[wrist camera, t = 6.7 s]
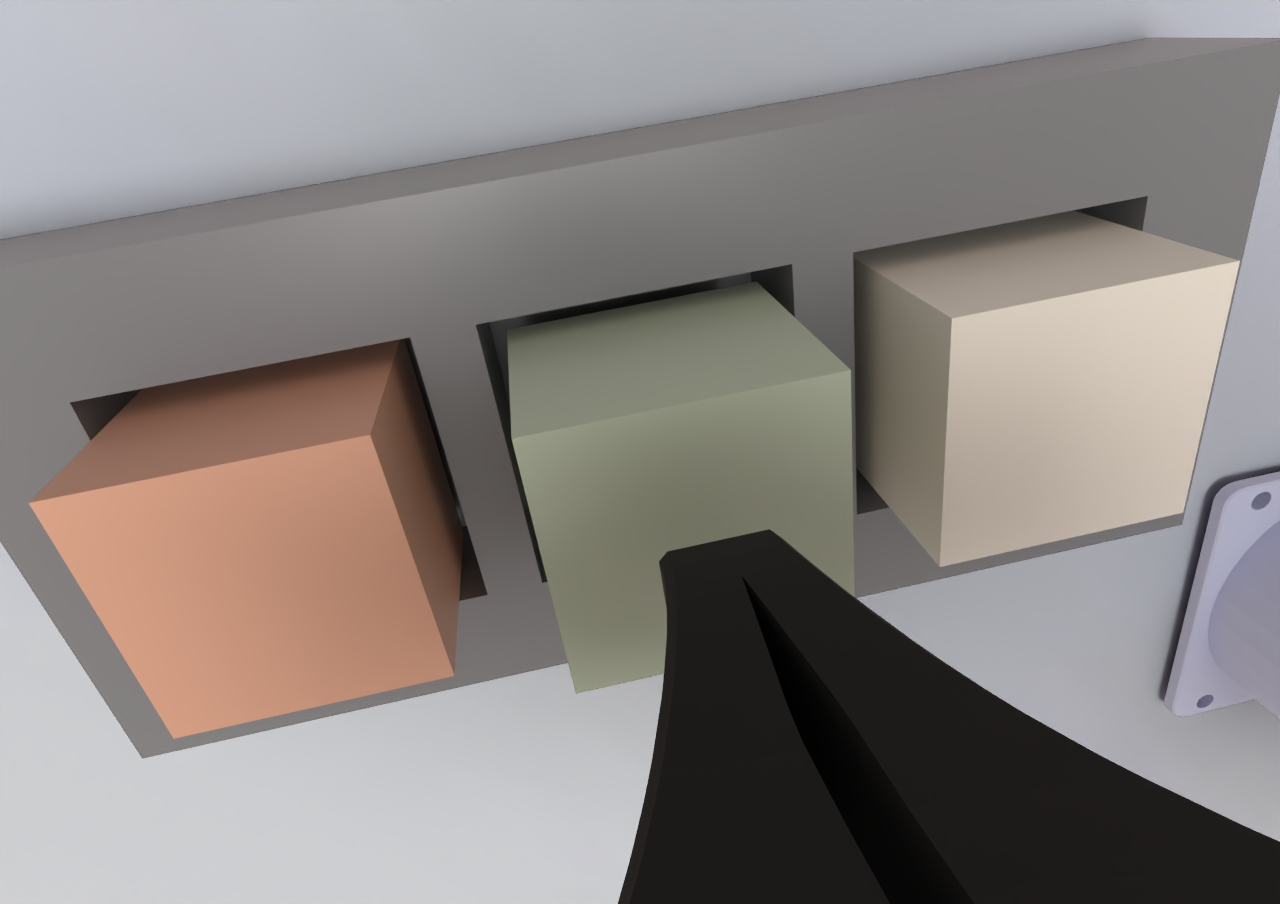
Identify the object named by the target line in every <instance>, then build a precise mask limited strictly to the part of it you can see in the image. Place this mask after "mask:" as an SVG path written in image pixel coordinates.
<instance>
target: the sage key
mask: <svg viewBox="0 0 1280 904" xmlns="http://www.w3.org/2000/svg"><path fill="white" fill-rule="evenodd" d="M507 343H508V366H509V390H510V414H511V438H512V443H513V447H514V451H515V455H516V459H517V462H518V466H519V470H520V474H521V478H522V482H523V486H524V490H525V494H526V498H527V502H528V506H529V510H530V514H531V518H532V522H533V526H534V530H535V534H536V538H537V542H538V546H539V550H540V554H541V557H542V561H543V565H544V569H545V573H546V577H547V581H548V585H549V589H550V593H551V597H552V601H553V605H554V609H555V613H556V617H557V621H558V625H559V629H560V633H561V637H562V641H563V645H564V648H565V652H566V656H567V660H568V664H569V668H570V672H571V676H572V680H573V684H574V688H575V692H576V693H581V692H585V691H590V690H594V689H598V688H603V687H607V686H612V685H616V684H620V683H625V682H629V681H633V680H638V679H642V678H647V677H651V676H655V675H660V674H664V668H665V654H666V640H667V608H666V602H665V596H664V590H663V584H662V578H661V572H660V566H659V561H660V560H661V558H662V557H663V556H664V555H665V554H666V552H667V551H672V550H676V549H681V548H685V547H690V546H695V545H699V544H704V543H708V542H713V541H718V540H722V539H727V538H731V537H736V536H740V535H745V534H750V533H754V532H759V531H763V530H768V529H770V530H772V531H773V532H774V533H776V534H777V535H779V536H780V537H781V538H783V539H784V540H785V541H786V542H787V543H788V544H790V545H791V546H792V547H793V548H794V549H796V550H797V551H798V552H799V553H800V554H802V555H803V556H804V557H805V558H806V559H808V560H809V561H810V562H811V563H812V564H814V565H815V566H816V567H817V568H818V569H820V570H821V571H822V572H823V573H825V574H826V575H827V576H828V577H830V578H831V579H832V580H833V581H835V582H836V583H837V584H838V585H840V586H841V587H842V588H843V589H845V590H846V591H847V592H848V593H850V594H851V595H852V596H854V597H855V595H854V533H853V471H852V409H851V370H850V369H849V368H848V367H847V366H846V365H845V364H844V363H843V362H842V361H841V360H840V359H839V358H838V357H836V356H835V355H834V354H833V353H832V352H831V351H830V350H829V349H828V348H827V347H826V346H825V345H824V344H823V343H822V342H820V341H819V340H818V339H817V338H816V337H815V336H814V335H813V334H812V333H811V332H810V331H809V330H808V329H807V328H806V327H804V326H803V325H802V324H801V323H800V322H799V321H798V320H797V319H796V318H795V317H794V316H793V315H792V314H791V313H790V312H788V311H787V310H786V309H785V308H784V307H783V306H782V305H781V304H780V303H779V302H778V301H777V300H776V299H775V298H774V297H772V296H771V295H770V294H769V293H768V292H767V291H766V290H765V289H764V288H763V287H762V286H761V285H760V284H759V283H758V282H751V283H746V284H741V285H736V286H730V287H725V288H720V289H715V290H710V291H704V292H699V293H694V294H689V295H684V296H679V297H673V298H668V299H663V300H658V301H653V302H647V303H642V304H637V305H632V306H627V307H621V308H616V309H611V310H606V311H601V312H595V313H590V314H585V315H580V316H575V317H569V318H564V319H559V320H554V321H549V322H543V323H538V324H533V325H528V326H523V327H518V328H512V329H507Z"/></svg>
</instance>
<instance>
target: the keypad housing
mask: <svg viewBox="0 0 1280 904" xmlns="http://www.w3.org/2000/svg"><path fill="white" fill-rule="evenodd" d="M1279 94H1280V38H1146V39H1140V40H1134V41H1129V42H1123V43H1117V44H1112V45H1106V46H1100V47H1095V48H1089V49H1083V50H1077V51H1072V52H1066V53H1060V54H1055V55H1049V56H1043V57H1038V58H1032V59H1026V60H1021V61H1015V62H1009V63H1004V64H998V65H992V66H986V67H981V68H975V69H969V70H964V71H958V72H952V73H947V74H941V75H935V76H930V77H924V78H918V79H913V80H907V81H901V82H895V83H890V84H884V85H878V86H873V87H867V88H861V89H856V90H850V91H844V92H839V93H833V94H827V95H822V96H816V97H810V98H804V99H799V100H793V101H787V102H782V103H776V104H770V105H765V106H759V107H753V108H748V109H742V110H736V111H731V112H725V113H719V114H713V115H708V116H702V117H696V118H691V119H685V120H679V121H674V122H668V123H662V124H657V125H651V126H645V127H640V128H634V129H628V130H622V131H617V132H611V133H605V134H600V135H594V136H588V137H583V138H577V139H571V140H566V141H560V142H554V143H549V144H543V145H537V146H531V147H526V148H520V149H514V150H509V151H503V152H497V153H492V154H486V155H480V156H475V157H469V158H463V159H458V160H452V161H446V162H441V163H435V164H429V165H423V166H418V167H412V168H406V169H401V170H395V171H389V172H384V173H378V174H372V175H367V176H361V177H355V178H350V179H344V180H338V181H332V182H327V183H321V184H315V185H310V186H304V187H298V188H293V189H287V190H281V191H276V192H270V193H264V194H259V195H253V196H247V197H241V198H236V199H230V200H224V201H219V202H213V203H207V204H202V205H196V206H190V207H185V208H179V209H173V210H168V211H162V212H156V213H150V214H145V215H139V216H133V217H128V218H122V219H116V220H111V221H105V222H99V223H94V224H88V225H82V226H77V227H71V228H65V229H59V230H54V231H48V232H42V233H37V234H31V235H25V236H20V237H14V238H8V239H3V240H0V542H1V543H2V545H3V546H4V548H5V549H6V551H7V552H8V554H9V555H10V557H11V559H12V560H13V562H14V563H15V565H16V566H17V568H18V569H19V571H20V572H21V574H22V575H23V577H24V578H25V580H26V581H27V583H28V584H29V586H30V588H31V589H32V591H33V592H34V594H35V595H36V597H37V598H38V600H39V601H40V603H41V604H42V606H43V607H44V609H45V610H46V612H47V614H48V615H49V617H50V618H51V620H52V621H53V623H54V624H55V626H56V627H57V629H58V630H59V632H60V633H61V635H62V636H63V638H64V639H65V641H66V643H67V644H68V646H69V647H70V649H71V650H72V652H73V653H74V655H75V656H76V658H77V659H78V661H79V662H80V664H81V665H82V667H83V669H84V670H85V672H86V673H87V675H88V676H89V678H90V679H91V681H92V682H93V684H94V685H95V687H96V688H97V690H98V691H99V693H100V694H101V696H102V698H103V699H104V701H105V702H106V704H107V705H108V707H109V708H110V710H111V711H112V713H113V714H114V716H115V717H116V719H117V720H118V722H119V724H120V725H121V727H122V728H123V730H124V731H125V733H126V734H127V736H128V737H129V739H130V740H131V742H132V743H133V745H134V746H135V748H136V749H137V751H138V753H139V754H140V756H141V757H142V758H147V757H151V756H156V755H160V754H164V753H169V752H173V751H178V750H182V749H187V748H191V747H196V746H200V745H204V744H209V743H213V742H218V741H222V740H227V739H231V738H236V737H240V736H244V735H249V734H253V733H258V732H262V731H267V730H271V729H276V728H280V727H284V726H289V725H293V724H298V723H302V722H307V721H311V720H316V719H320V718H324V717H329V716H333V715H338V714H342V713H347V712H351V711H356V710H360V709H364V708H369V707H373V706H378V705H382V704H387V703H391V702H396V701H400V700H404V699H409V698H413V697H418V696H422V695H427V694H431V693H436V692H440V691H444V690H449V689H453V688H458V687H462V686H467V685H471V684H476V683H480V682H484V681H489V680H493V679H498V678H502V677H507V676H511V675H516V674H520V673H524V672H529V671H533V670H538V669H542V668H547V667H551V666H556V665H560V664H564V663H568V660H567V656H566V652H565V648H564V645H563V641H562V637H561V633H560V629H559V625H558V621H557V617H556V613H555V609H554V605H553V601H552V597H551V593H550V589H549V585H548V581H547V577H546V573H545V569H544V565H543V561H542V557H541V554H540V550H539V546H538V542H537V538H536V534H535V530H534V526H533V522H532V518H531V514H530V510H529V506H528V502H527V498H526V494H525V490H524V486H523V482H522V478H521V474H520V470H519V466H518V462H517V459H516V455H515V451H514V447H513V443H512V438H511V414H510V390H509V366H508V343H507V329H512V328H518V327H523V326H528V325H533V324H538V323H543V322H549V321H554V320H559V319H564V318H569V317H575V316H580V315H585V314H590V313H595V312H601V311H606V310H611V309H616V308H621V307H627V306H632V305H637V304H642V303H647V302H653V301H658V300H663V299H668V298H673V297H679V296H684V295H689V294H694V293H699V292H704V291H710V290H715V289H720V288H725V287H730V286H736V285H741V284H746V283H751V282H758V283H759V284H760V285H761V286H762V287H763V288H764V289H765V290H766V291H767V292H768V293H769V294H770V295H771V296H772V297H774V298H775V299H776V300H777V301H778V302H779V303H780V304H781V305H782V306H783V307H784V308H785V309H786V310H787V311H788V312H790V313H791V314H792V315H793V316H794V317H795V318H796V319H797V320H798V321H799V322H800V323H801V324H802V325H803V326H804V327H806V328H807V329H808V330H809V331H810V332H811V333H812V334H813V335H814V336H815V337H816V338H817V339H818V340H819V341H820V342H822V343H823V344H824V345H825V346H826V347H827V348H828V349H829V350H830V351H831V352H832V353H833V354H834V355H835V356H836V357H838V358H839V359H840V360H841V361H842V362H843V363H844V364H845V365H846V366H847V367H848V368H849V369H850V370H851V409H852V471H853V533H854V595H855V598H858V597H862V596H867V595H871V594H876V593H880V592H884V591H889V590H893V589H898V588H902V587H907V586H911V585H916V584H920V583H924V582H929V581H933V580H938V579H942V578H947V577H951V576H956V575H960V574H964V573H969V572H973V571H978V570H982V569H987V568H991V567H996V566H1000V565H1004V564H1009V563H1013V562H1018V561H1022V560H1027V559H1031V558H1036V557H1040V556H1044V555H1049V554H1053V553H1058V552H1062V551H1067V550H1071V549H1076V548H1080V547H1084V546H1089V545H1093V544H1098V543H1102V542H1107V541H1111V540H1116V539H1120V538H1124V537H1129V536H1133V535H1138V534H1142V533H1147V532H1151V531H1156V530H1160V529H1164V528H1169V527H1173V526H1178V525H1182V522H1183V518H1184V514H1185V509H1186V505H1187V500H1188V496H1189V492H1190V487H1191V483H1192V478H1193V474H1194V469H1195V465H1196V461H1197V456H1198V452H1199V447H1200V443H1201V439H1202V434H1203V430H1204V425H1205V421H1206V417H1207V412H1208V408H1209V403H1210V399H1211V394H1212V390H1213V386H1214V381H1215V377H1216V372H1217V368H1218V364H1219V359H1220V355H1221V350H1222V346H1223V342H1224V337H1225V333H1226V328H1227V324H1228V319H1229V315H1230V311H1231V306H1232V302H1233V297H1234V293H1235V289H1236V284H1237V280H1238V275H1239V271H1240V267H1241V262H1242V258H1243V253H1244V249H1245V244H1246V240H1247V236H1248V231H1249V227H1250V222H1251V218H1252V214H1253V209H1254V205H1255V200H1256V196H1257V192H1258V187H1259V183H1260V178H1261V174H1262V169H1263V165H1264V161H1265V156H1266V152H1267V147H1268V143H1269V139H1270V134H1271V130H1272V125H1273V121H1274V117H1275V112H1276V108H1277V103H1278V99H1279ZM1072 210H1073V211H1076V212H1080V213H1083V214H1086V215H1090V216H1093V217H1096V218H1100V219H1103V220H1106V221H1109V222H1113V223H1116V224H1119V225H1123V226H1126V227H1129V228H1133V229H1136V230H1139V231H1143V232H1146V233H1149V234H1153V235H1156V236H1159V237H1163V238H1166V239H1169V240H1172V241H1176V242H1179V243H1182V244H1186V245H1189V246H1192V247H1196V248H1199V249H1202V250H1206V251H1209V252H1212V253H1216V254H1219V255H1222V256H1226V257H1229V258H1232V259H1235V260H1239V261H1240V263H1239V268H1238V272H1237V276H1236V281H1235V285H1234V290H1233V294H1232V299H1231V303H1230V307H1229V312H1228V316H1227V321H1226V325H1225V330H1224V334H1223V339H1222V343H1221V347H1220V352H1219V356H1218V361H1217V365H1216V370H1215V374H1214V378H1213V383H1212V387H1211V392H1210V396H1209V401H1208V405H1207V409H1206V414H1205V418H1204V423H1203V427H1202V432H1201V436H1200V440H1199V445H1198V449H1197V454H1196V458H1195V463H1194V467H1193V472H1192V476H1191V480H1190V485H1189V489H1188V494H1187V498H1186V503H1185V507H1184V511H1183V513H1180V514H1175V515H1171V516H1166V517H1162V518H1157V519H1153V520H1148V521H1144V522H1139V523H1135V524H1130V525H1126V526H1121V527H1117V528H1113V529H1108V530H1104V531H1099V532H1095V533H1090V534H1086V535H1081V536H1077V537H1072V538H1068V539H1063V540H1059V541H1054V542H1050V543H1046V544H1041V545H1037V546H1032V547H1028V548H1023V549H1019V550H1014V551H1010V552H1005V553H1001V554H996V555H992V556H987V557H983V558H979V559H974V560H970V561H965V562H961V563H956V564H952V565H947V566H943V567H939V566H938V565H937V563H936V562H935V561H934V560H933V559H932V557H931V556H930V555H929V554H928V553H927V551H926V550H925V549H924V548H923V547H922V545H921V544H920V543H919V542H918V541H917V540H916V538H915V537H914V536H913V535H912V534H911V532H910V531H909V530H908V529H907V528H906V526H905V525H904V524H903V523H902V522H901V520H900V519H899V518H898V517H897V516H896V514H895V513H894V512H893V511H892V510H891V508H890V507H889V506H888V505H887V504H886V503H885V501H884V500H883V499H882V498H881V497H880V495H879V494H878V493H877V492H876V491H875V489H874V488H873V487H872V486H871V485H870V483H869V482H868V481H867V480H866V479H865V477H864V476H863V475H862V474H861V473H860V472H859V470H858V469H857V468H856V420H855V346H854V272H853V252H858V251H863V250H868V249H874V248H879V247H884V246H889V245H895V244H900V243H905V242H910V241H915V240H921V239H926V238H931V237H936V236H942V235H947V234H952V233H957V232H962V231H968V230H973V229H978V228H983V227H989V226H994V225H999V224H1004V223H1009V222H1015V221H1020V220H1025V219H1030V218H1036V217H1041V216H1046V215H1051V214H1056V213H1062V212H1067V211H1072ZM399 339H405V343H406V346H407V349H408V353H409V356H410V359H411V362H412V366H413V369H414V372H415V375H416V379H417V382H418V385H419V388H420V392H421V395H422V398H423V402H424V405H425V408H426V411H427V415H428V418H429V421H430V424H431V428H432V431H433V434H434V438H435V441H436V444H437V447H438V451H439V454H440V457H441V460H442V464H443V467H444V470H445V473H446V477H447V480H448V483H449V487H450V490H451V493H452V496H453V500H454V503H455V506H456V509H457V513H458V516H459V519H460V523H461V526H462V529H463V532H464V533H463V548H462V564H461V580H460V596H459V612H458V628H457V644H456V660H455V676H452V677H448V678H443V679H439V680H434V681H430V682H425V683H421V684H416V685H412V686H407V687H403V688H398V689H394V690H389V691H385V692H381V693H376V694H372V695H367V696H363V697H358V698H354V699H349V700H345V701H340V702H336V703H331V704H327V705H322V706H318V707H314V708H309V709H305V710H300V711H296V712H291V713H287V714H282V715H278V716H273V717H269V718H264V719H260V720H255V721H251V722H247V723H242V724H238V725H233V726H229V727H224V728H220V729H215V730H211V731H206V732H202V733H197V734H193V735H188V736H184V737H180V738H175V739H173V737H172V735H171V734H170V732H169V730H168V729H167V727H166V726H165V724H164V722H163V721H162V719H161V717H160V716H159V714H158V713H157V711H156V709H155V708H154V706H153V704H152V703H151V701H150V700H149V698H148V696H147V695H146V693H145V691H144V690H143V688H142V687H141V685H140V683H139V682H138V680H137V678H136V677H135V675H134V674H133V672H132V670H131V669H130V667H129V665H128V664H127V662H126V661H125V659H124V657H123V656H122V654H121V652H120V651H119V649H118V648H117V646H116V644H115V643H114V641H113V639H112V638H111V636H110V635H109V633H108V631H107V630H106V628H105V626H104V625H103V623H102V622H101V620H100V618H99V617H98V615H97V613H96V612H95V610H94V609H93V607H92V605H91V604H90V602H89V600H88V599H87V597H86V596H85V594H84V592H83V591H82V589H81V587H80V586H79V584H78V583H77V581H76V579H75V578H74V576H73V574H72V573H71V571H70V570H69V568H68V566H67V565H66V563H65V562H64V560H63V558H62V557H61V555H60V553H59V552H58V550H57V549H56V547H55V545H54V544H53V542H52V540H51V539H50V537H49V536H48V534H47V532H46V531H45V529H44V527H43V526H42V524H41V523H40V521H39V519H38V518H37V516H36V514H35V513H34V511H33V510H32V508H31V506H30V505H29V502H30V501H31V500H32V499H33V498H34V497H35V496H36V495H37V494H38V493H39V492H40V491H41V490H42V489H43V488H44V487H45V486H46V485H47V484H48V483H49V482H50V481H51V480H52V479H53V478H54V477H55V476H56V475H57V474H58V473H59V472H60V471H61V470H62V469H63V468H64V467H65V466H66V465H67V464H68V463H69V462H70V461H71V460H72V459H73V458H74V457H75V456H76V455H77V454H78V453H79V452H80V451H81V450H82V449H83V448H84V447H85V446H86V445H87V444H88V443H89V442H90V441H91V440H92V439H93V438H94V437H95V436H96V435H97V434H98V433H99V432H100V431H101V430H102V429H103V428H104V427H105V426H106V425H107V424H108V423H109V422H110V421H111V420H112V419H113V418H114V417H115V416H116V415H117V414H118V413H119V412H120V411H121V410H122V409H123V408H124V407H125V406H126V405H127V404H128V403H129V402H130V401H131V400H132V399H133V398H134V397H135V396H136V395H137V394H138V393H139V392H140V391H141V390H142V389H143V388H148V387H153V386H158V385H164V384H169V383H174V382H179V381H185V380H190V379H195V378H200V377H205V376H211V375H216V374H221V373H226V372H232V371H237V370H242V369H247V368H252V367H258V366H263V365H268V364H273V363H279V362H284V361H289V360H294V359H299V358H305V357H310V356H315V355H320V354H325V353H331V352H336V351H341V350H346V349H352V348H357V347H362V346H367V345H372V344H378V343H383V342H388V341H393V340H399Z"/></svg>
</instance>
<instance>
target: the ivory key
mask: <svg viewBox="0 0 1280 904" xmlns="http://www.w3.org/2000/svg"><path fill="white" fill-rule="evenodd" d="M1239 263H1240V261H1239V260H1235V259H1232V258H1229V257H1226V256H1222V255H1219V254H1216V253H1212V252H1209V251H1206V250H1202V249H1199V248H1196V247H1192V246H1189V245H1186V244H1182V243H1179V242H1176V241H1172V240H1169V239H1166V238H1163V237H1159V236H1156V235H1153V234H1149V233H1146V232H1143V231H1139V230H1136V229H1133V228H1129V227H1126V226H1123V225H1119V224H1116V223H1113V222H1109V221H1106V220H1103V219H1100V218H1096V217H1093V216H1090V215H1086V214H1083V213H1080V212H1076V211H1073V210H1072V211H1067V212H1062V213H1056V214H1051V215H1046V216H1041V217H1036V218H1030V219H1025V220H1020V221H1015V222H1009V223H1004V224H999V225H994V226H989V227H983V228H978V229H973V230H968V231H962V232H957V233H952V234H947V235H942V236H936V237H931V238H926V239H921V240H915V241H910V242H905V243H900V244H895V245H889V246H884V247H879V248H874V249H868V250H863V251H858V252H853V272H854V346H855V420H856V468H857V469H858V470H859V472H860V473H861V474H862V475H863V476H864V477H865V479H866V480H867V481H868V482H869V483H870V485H871V486H872V487H873V488H874V489H875V491H876V492H877V493H878V494H879V495H880V497H881V498H882V499H883V500H884V501H885V503H886V504H887V505H888V506H889V507H890V508H891V510H892V511H893V512H894V513H895V514H896V516H897V517H898V518H899V519H900V520H901V522H902V523H903V524H904V525H905V526H906V528H907V529H908V530H909V531H910V532H911V534H912V535H913V536H914V537H915V538H916V540H917V541H918V542H919V543H920V544H921V545H922V547H923V548H924V549H925V550H926V551H927V553H928V554H929V555H930V556H931V557H932V559H933V560H934V561H935V562H936V563H937V565H938V566H939V567H943V566H947V565H952V564H956V563H961V562H965V561H970V560H974V559H979V558H983V557H987V556H992V555H996V554H1001V553H1005V552H1010V551H1014V550H1019V549H1023V548H1028V547H1032V546H1037V545H1041V544H1046V543H1050V542H1054V541H1059V540H1063V539H1068V538H1072V537H1077V536H1081V535H1086V534H1090V533H1095V532H1099V531H1104V530H1108V529H1113V528H1117V527H1121V526H1126V525H1130V524H1135V523H1139V522H1144V521H1148V520H1153V519H1157V518H1162V517H1166V516H1171V515H1175V514H1180V513H1183V511H1184V507H1185V503H1186V498H1187V494H1188V489H1189V485H1190V480H1191V476H1192V472H1193V467H1194V463H1195V458H1196V454H1197V449H1198V445H1199V440H1200V436H1201V432H1202V427H1203V423H1204V418H1205V414H1206V409H1207V405H1208V401H1209V396H1210V392H1211V387H1212V383H1213V378H1214V374H1215V370H1216V365H1217V361H1218V356H1219V352H1220V347H1221V343H1222V339H1223V334H1224V330H1225V325H1226V321H1227V316H1228V312H1229V307H1230V303H1231V299H1232V294H1233V290H1234V285H1235V281H1236V276H1237V272H1238V268H1239Z"/></svg>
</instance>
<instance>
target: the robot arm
mask: <svg viewBox="0 0 1280 904" xmlns="http://www.w3.org/2000/svg"><path fill="white" fill-rule="evenodd" d="M659 566H660V572H661V578H662V584H663V590H664V596H665V602H666V608H667V640H666V654H665V668H664V682H663V691H662V700H661V706H660V713H659V719H658V726H657V732H656V739H655V745H654V752H653V758H652V764H651V769H650V774H649V779H648V784H647V789H646V794H645V799H644V803H643V808H642V813H641V817H640V821H639V825H638V829H637V834H636V838H635V842H634V846H633V850H632V854H631V858H630V862H629V866H628V869H627V873H626V877H625V880H624V884H623V887H622V891H621V894H620V898H619V902H618V904H1280V842H1279V841H1277V840H1274V839H1272V838H1270V837H1268V836H1265V835H1263V834H1261V833H1259V832H1256V831H1254V830H1252V829H1250V828H1247V827H1245V826H1243V825H1241V824H1239V823H1237V822H1235V821H1232V820H1230V819H1228V818H1226V817H1224V816H1222V815H1220V814H1218V813H1216V812H1214V811H1212V810H1209V809H1207V808H1205V807H1203V806H1201V805H1199V804H1197V803H1195V802H1193V801H1191V800H1189V799H1187V798H1184V797H1182V796H1180V795H1178V794H1176V793H1174V792H1172V791H1170V790H1168V789H1166V788H1164V787H1161V786H1159V785H1157V784H1155V783H1153V782H1151V781H1149V780H1147V779H1145V778H1143V777H1141V776H1139V775H1137V774H1135V773H1133V772H1131V771H1129V770H1127V769H1125V768H1123V767H1121V766H1119V765H1117V764H1115V763H1114V762H1112V761H1110V760H1108V759H1106V758H1104V757H1102V756H1100V755H1098V754H1096V753H1094V752H1093V751H1091V750H1089V749H1087V748H1085V747H1084V746H1082V745H1080V744H1078V743H1076V742H1075V741H1073V740H1071V739H1069V738H1068V737H1066V736H1064V735H1062V734H1060V733H1059V732H1057V731H1055V730H1053V729H1051V728H1050V727H1048V726H1046V725H1044V724H1043V723H1041V722H1039V721H1037V720H1035V719H1034V718H1032V717H1030V716H1028V715H1026V714H1025V713H1023V712H1021V711H1020V710H1018V709H1016V708H1015V707H1013V706H1011V705H1010V704H1008V703H1007V702H1005V701H1003V700H1002V699H1000V698H998V697H997V696H995V695H994V694H992V693H990V692H989V691H987V690H986V689H984V688H983V687H981V686H979V685H978V684H976V683H975V682H973V681H972V680H970V679H969V678H967V677H966V676H964V675H963V674H961V673H960V672H958V671H957V670H955V669H954V668H952V667H951V666H949V665H948V664H946V663H944V662H943V661H941V660H940V659H939V658H937V657H936V656H934V655H933V654H931V653H930V652H928V651H927V650H926V649H924V648H923V647H921V646H920V645H918V644H917V643H916V642H914V641H913V640H911V639H910V638H909V637H907V636H906V635H905V634H903V633H902V632H900V631H899V630H898V629H896V628H895V627H894V626H892V625H891V624H890V623H888V622H887V621H885V620H884V619H883V618H881V617H880V616H879V615H877V614H876V613H875V612H873V611H872V610H870V609H869V608H868V607H866V606H865V605H864V604H863V603H861V602H860V601H859V600H857V599H856V598H855V597H854V596H852V595H851V594H850V593H848V592H847V591H846V590H845V589H843V588H842V587H841V586H840V585H838V584H837V583H836V582H835V581H833V580H832V579H831V578H830V577H828V576H827V575H826V574H825V573H823V572H822V571H821V570H820V569H818V568H817V567H816V566H815V565H814V564H812V563H811V562H810V561H809V560H808V559H806V558H805V557H804V556H803V555H802V554H800V553H799V552H798V551H797V550H796V549H794V548H793V547H792V546H791V545H790V544H788V543H787V542H786V541H785V540H784V539H783V538H781V537H780V536H779V535H777V534H776V533H774V532H773V531H772V530H770V529H768V530H763V531H759V532H754V533H750V534H745V535H740V536H736V537H731V538H727V539H722V540H718V541H713V542H708V543H704V544H699V545H695V546H690V547H685V548H681V549H676V550H672V551H667V552H666V554H665V555H664V556H663V557H662V558H661V560H660V561H659ZM1254 699H1256V700H1257V701H1258V702H1259V703H1260V704H1261V705H1262V706H1264V707H1265V708H1266V709H1267V710H1268V711H1269V712H1270V713H1272V714H1273V715H1274V716H1275V717H1276V718H1277V719H1279V720H1280V471H1279V472H1275V473H1270V474H1266V475H1261V476H1257V477H1252V478H1248V479H1243V480H1239V481H1235V482H1232V483H1229V484H1227V485H1226V486H1224V487H1223V488H1221V489H1220V490H1219V492H1218V493H1217V494H1216V496H1215V498H1214V500H1213V504H1212V508H1211V512H1210V516H1209V521H1208V525H1207V529H1206V533H1205V537H1204V541H1203V545H1202V549H1201V553H1200V557H1199V561H1198V565H1197V569H1196V573H1195V578H1194V582H1193V586H1192V590H1191V594H1190V598H1189V602H1188V606H1187V610H1186V614H1185V618H1184V622H1183V626H1182V631H1181V635H1180V639H1179V643H1178V647H1177V651H1176V655H1175V659H1174V663H1173V667H1172V671H1171V675H1170V679H1169V683H1168V688H1167V692H1166V696H1165V700H1164V704H1165V706H1166V707H1167V708H1168V709H1169V710H1170V711H1171V712H1172V713H1173V714H1174V715H1175V716H1179V717H1182V716H1189V715H1193V714H1197V713H1201V712H1205V711H1209V710H1213V709H1218V708H1222V707H1226V706H1230V705H1234V704H1238V703H1242V702H1246V701H1250V700H1254Z"/></svg>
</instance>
